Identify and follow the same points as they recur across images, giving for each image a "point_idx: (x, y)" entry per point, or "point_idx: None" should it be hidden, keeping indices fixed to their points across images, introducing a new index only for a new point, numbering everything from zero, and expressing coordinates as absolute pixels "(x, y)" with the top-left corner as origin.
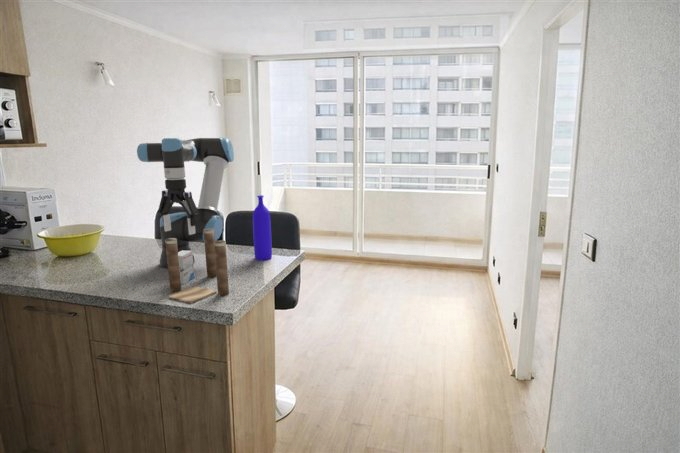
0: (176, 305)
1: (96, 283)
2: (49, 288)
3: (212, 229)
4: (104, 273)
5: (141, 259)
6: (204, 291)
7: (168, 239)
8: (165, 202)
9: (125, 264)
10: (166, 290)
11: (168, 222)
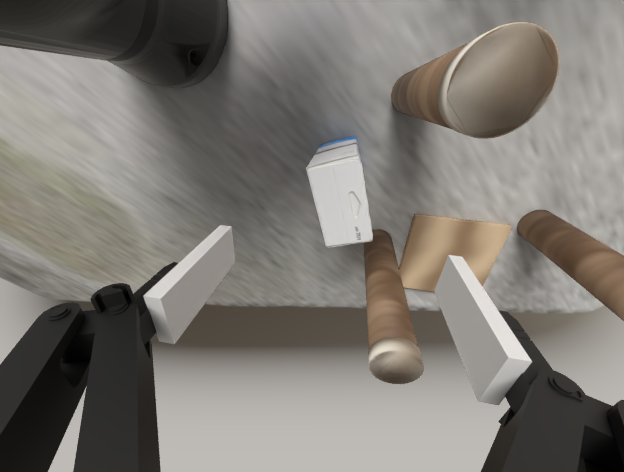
0: None
1: (168, 258)
2: None
3: (544, 64)
4: (103, 201)
5: None
6: (475, 239)
7: (384, 370)
8: (13, 468)
9: (47, 112)
10: (353, 247)
11: (205, 272)
